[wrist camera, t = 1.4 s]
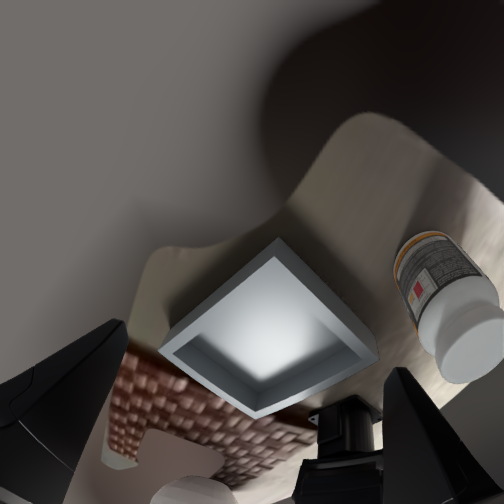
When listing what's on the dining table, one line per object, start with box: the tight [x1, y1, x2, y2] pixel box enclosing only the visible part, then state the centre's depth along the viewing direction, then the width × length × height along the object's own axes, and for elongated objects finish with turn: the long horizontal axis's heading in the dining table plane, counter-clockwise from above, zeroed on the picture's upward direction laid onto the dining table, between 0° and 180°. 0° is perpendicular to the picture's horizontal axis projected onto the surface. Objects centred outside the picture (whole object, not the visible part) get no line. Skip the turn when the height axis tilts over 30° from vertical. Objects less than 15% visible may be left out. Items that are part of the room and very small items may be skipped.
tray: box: [158, 237, 380, 419], centre depth 24 cm, size 12×14×3 cm
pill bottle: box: [393, 231, 504, 384], centre depth 15 cm, size 6×6×10 cm
